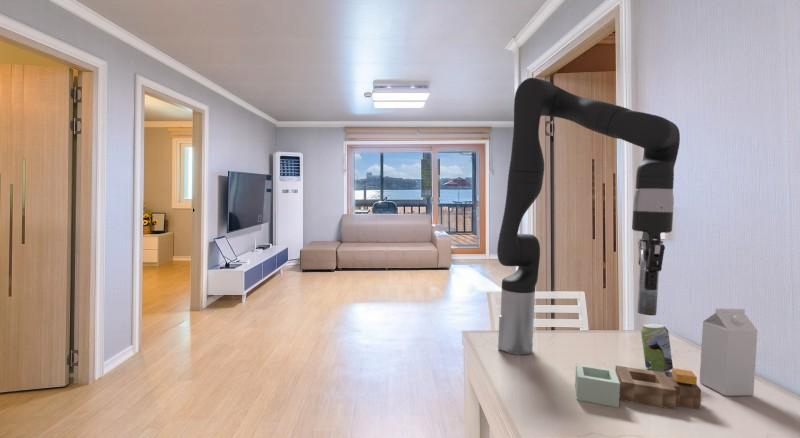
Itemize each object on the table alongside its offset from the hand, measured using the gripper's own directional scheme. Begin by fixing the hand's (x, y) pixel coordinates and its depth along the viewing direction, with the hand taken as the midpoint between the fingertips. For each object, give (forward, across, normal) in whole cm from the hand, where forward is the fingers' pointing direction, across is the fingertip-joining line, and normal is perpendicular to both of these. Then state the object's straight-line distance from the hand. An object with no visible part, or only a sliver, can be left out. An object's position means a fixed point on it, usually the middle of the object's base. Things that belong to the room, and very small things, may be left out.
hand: (648, 287), depth 91 cm
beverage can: (+24, +18, -6) cm, 31 cm away
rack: (+24, -5, +10) cm, 26 cm away
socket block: (+24, 0, -3) cm, 24 cm away
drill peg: (+6, 0, 0) cm, 6 cm away
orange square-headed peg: (+23, 0, -8) cm, 24 cm away
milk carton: (+24, +12, -19) cm, 33 cm away
